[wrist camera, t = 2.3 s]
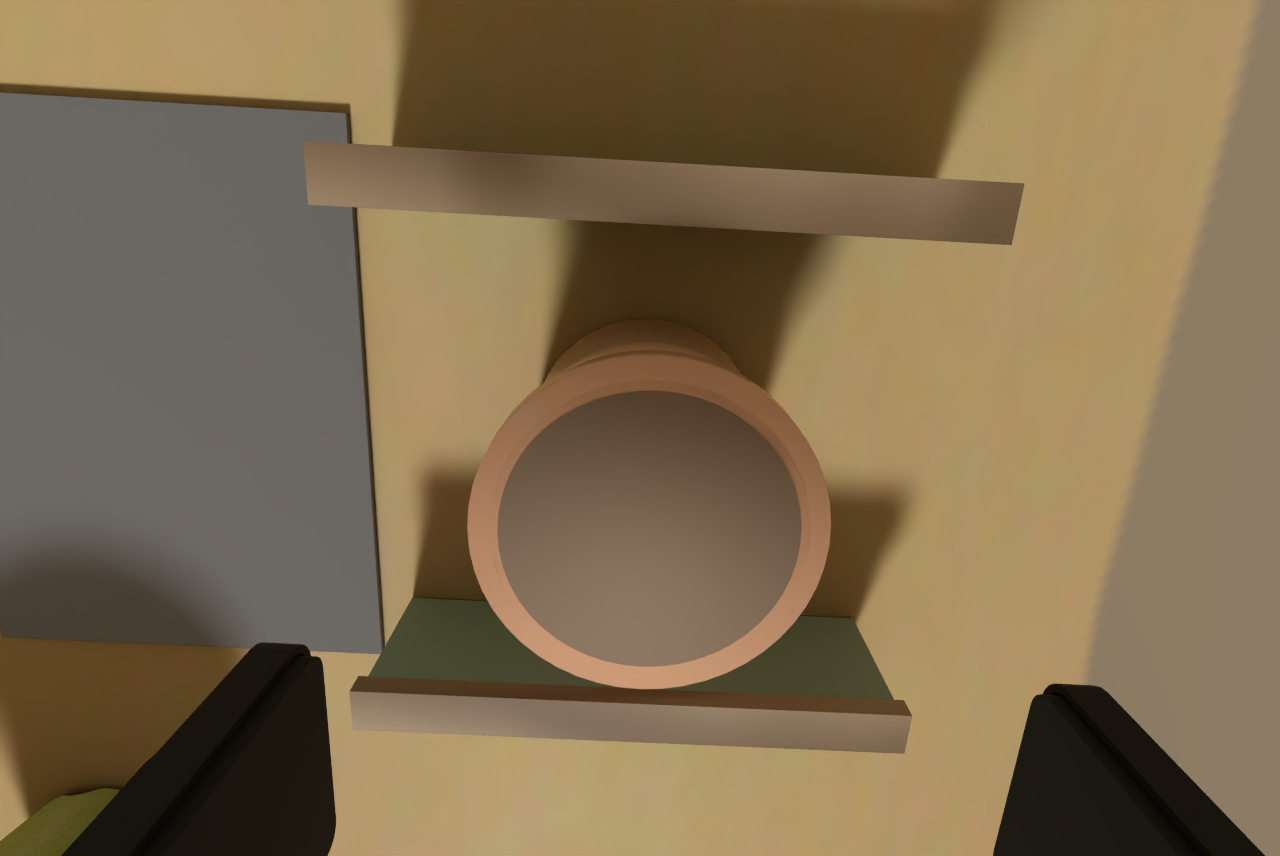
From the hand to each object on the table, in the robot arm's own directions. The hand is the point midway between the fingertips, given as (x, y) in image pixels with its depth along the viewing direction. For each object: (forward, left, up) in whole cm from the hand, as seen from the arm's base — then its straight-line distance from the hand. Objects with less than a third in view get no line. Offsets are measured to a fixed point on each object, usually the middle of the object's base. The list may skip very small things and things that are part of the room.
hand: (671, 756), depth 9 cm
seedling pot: (-1, 0, -12) cm, 12 cm away
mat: (-1, -14, -12) cm, 19 cm away
